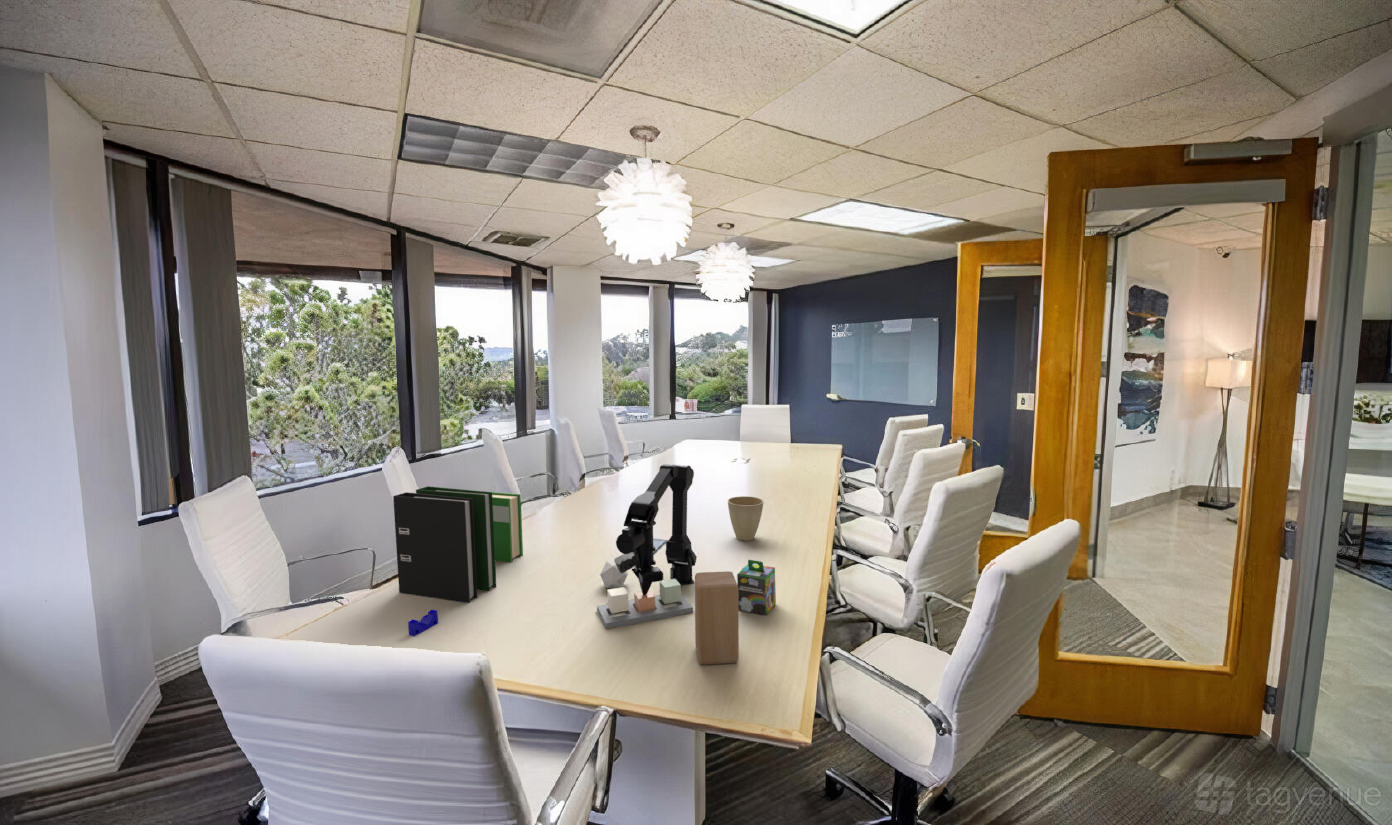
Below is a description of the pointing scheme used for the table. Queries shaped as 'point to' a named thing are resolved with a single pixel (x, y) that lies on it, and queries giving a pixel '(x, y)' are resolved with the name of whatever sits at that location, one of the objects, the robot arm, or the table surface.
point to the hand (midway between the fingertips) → (644, 594)
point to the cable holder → (423, 623)
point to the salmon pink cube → (644, 601)
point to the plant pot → (745, 516)
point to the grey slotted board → (643, 613)
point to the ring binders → (445, 543)
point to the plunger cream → (618, 600)
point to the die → (612, 575)
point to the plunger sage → (670, 591)
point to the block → (716, 618)
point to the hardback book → (507, 526)
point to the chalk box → (756, 588)
